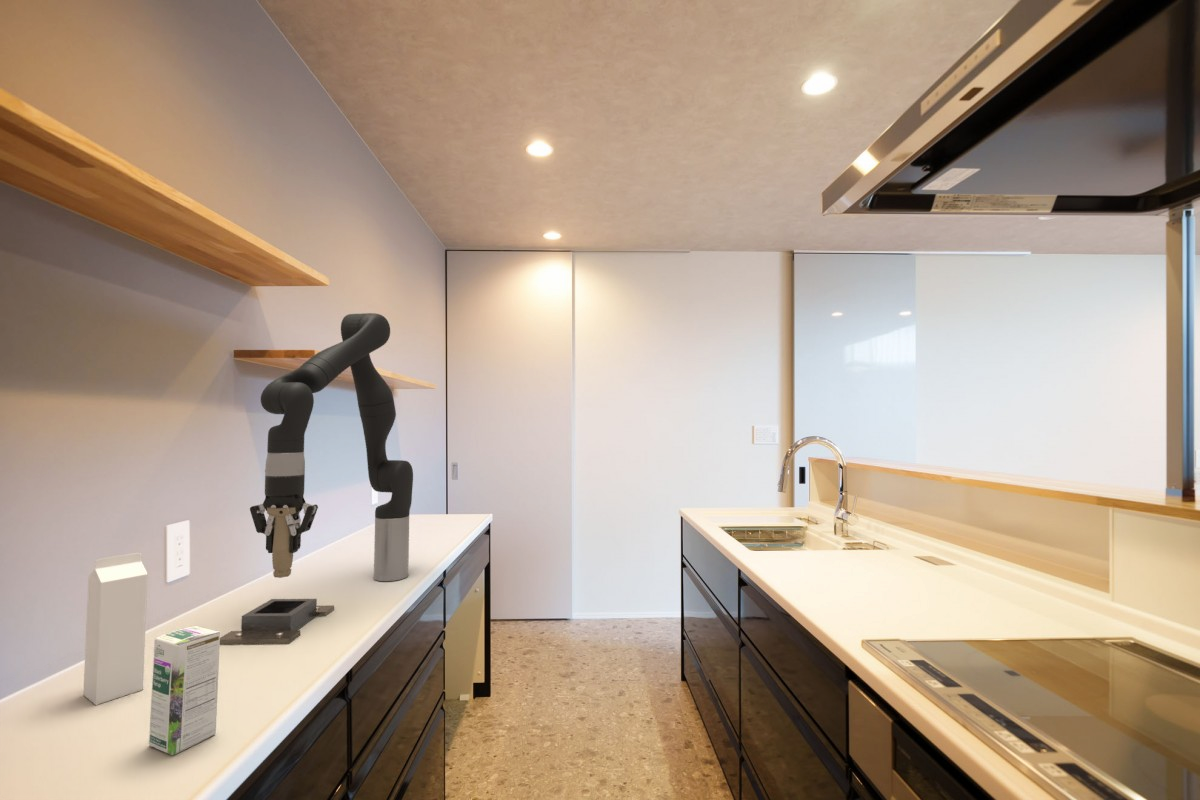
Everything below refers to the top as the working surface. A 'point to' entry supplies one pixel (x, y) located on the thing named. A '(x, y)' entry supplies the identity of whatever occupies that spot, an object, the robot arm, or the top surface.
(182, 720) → the syrup box
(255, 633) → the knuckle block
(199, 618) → the top surface
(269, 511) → the handle
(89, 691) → the milk
